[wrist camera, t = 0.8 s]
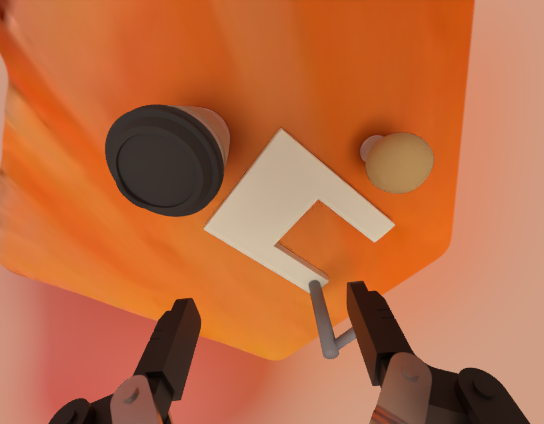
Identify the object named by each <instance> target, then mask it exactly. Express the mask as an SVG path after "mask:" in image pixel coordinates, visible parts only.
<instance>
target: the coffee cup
mask: <svg viewBox="0 0 544 424" xmlns="http://www.w3.org/2000/svg"><path fill="white" fill-rule="evenodd" d="M229 145H230V133H229V129H228V127H227V125H226V123H225V121H224V120H223V119H222V118H221V117H220V116H219V115H218V114H217V113H215V112H214V111H212V110H210V109H207V108H202V107H196V106H180V105H146V106H142V107H139V108H136V109H134V110H132V111H130V112H127V113H126V114H124V115H122V116H121V117H120V118H118V119H117V120H116V121H115V122H114V124H113V125H112V126H111V128H110V130H109V132H108V135H107V138H106V144H105V154H106V160H107V164H108V167H109V170H110V172H111V174H112V176H113V178H114V180H115V182H116V184H117V187H118V189H119V190H120V192H121V193H122V194H123V195H124V196H125V197H126V198H127V199H128V200H129V201H130V202H132V203H133V204H135V205H136V206H138V207H141V208H145V209H147V210H149V211H151V212H154V213H157V214H160V215H165V216H173V217H180V216H187V215H191V214H194V213H196V212H198V211H200V210H202V209H203V208H204V207H206V206H207V205H208V204H209V203H210V202H211V200H212V199H213V198H214V197H215V196H216V194H217V193H218V191H219V189H220V187H221V184H222V181H223V176H224V170H225V166H226V162H227V158H228V153H229Z"/></svg>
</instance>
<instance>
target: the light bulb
mask: <svg viewBox="0 0 544 424" xmlns="http://www.w3.org/2000/svg"><path fill="white" fill-rule="evenodd" d="M360 156H361V158H362V160H363V161H364V162H366V164H365V167H366V173H367V176H368V178H369V180H370V181H371V182H372V184H373V185H374V186H376V187H377V188H379V189H380V190H383V191H385V192H389V193H397V194H399V193H407V192H410V191H413V190H415V189H416V188H417V187H419V186H420V185H421V184H422V183H423V182H424V181H425V180H426V178H427V177H428V176H429V174H430V172H431V170H432V167H433V163H434V155H433V152H432V149H431V148H430V146H429V145H428V143H427V142H426V141H424V140H423V139H422V138H421V137H419V136H417V135H415V134H411V133H406V132H399V133H393V134H389V135H387V136H385V137H383V136H381V135H374V136H371V137H369V138H367V139H366V140H365V141H364V142H363V144H362V145H361V148H360Z"/></svg>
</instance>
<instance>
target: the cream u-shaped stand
mask: <svg viewBox="0 0 544 424" xmlns="http://www.w3.org/2000/svg"><path fill="white" fill-rule="evenodd" d="M318 199H319V200H320V201H321V202H323V203H324V204H325V205H327V206H328V207H329V208H330V209H332V210H333V211H334V212H336V213H337V214H338V215H339V216H341V217H342V218H343V219H345V220H346V221H347V222H349V223H350V224H351V225H352V226H354V227H355V228H356V229H358V230H359V231H360V232H361V233H363V234H364V235H365V236H367V237H368V238H369V239H371V240H372V241H373V242H374V243H375V242H376V241H377V240H379V239H380V238H381V237H382V236H383V235H385V234H386V233H387V232H388V231H389V230H390V229H392V228H393V227H394V226H395V224H394V223H393V222H392V221H391V220H390V219H389V218H388V217H387V216H386V215H384V214H383V213H382V212H381V211H380V210H378V209H377V208H376V207H375V206H374V205H373V204H371V203H370V202H369V201H368V200H367V199H365V198H364V197H363V196H362V195H361V194H359V193H358V192H357V191H356V190H355V189H354V188H352V187H351V186H350V185H349V184H348V183H346V182H345V181H344V180H343V179H342V178H341V177H339V176H338V175H337V174H336V173H335V172H333V171H332V170H331V169H330V168H329V167H327V166H326V165H325V164H324V163H323V162H322V161H320V160H319V159H318V158H317V157H316V156H314V155H313V154H312V153H311V152H310V151H309V150H307V149H306V148H305V147H304V146H303V145H301V144H300V143H299V142H298V141H297V140H295V139H294V138H293V137H292V136H291V135H290V134H288V133H287V132H286V131H285V130H284V129H282V128H281V127H280V128H279V130H278V131H277V132H276V133H275V135H274V136H273V137H272V139H271V140H270V141H269V143H268V144H267V145H266V146H265V148H264V149H263V150H262V152H261V153H260V154H259V156H258V157H257V158H256V159H255V161H254V162H253V163H252V165H251V166H250V167H249V168H248V170H247V171H246V172H245V174H244V175H243V176H242V178H241V179H240V180H239V181H238V183H237V184H236V185H235V187H234V188H233V189H232V191H231V192H230V193H229V194H228V196H227V197H226V198H225V200H224V201H223V202H222V204H221V205H220V206H219V207H218V209H217V210H216V211H215V213H214V214H213V215H212V216H211V218H210V219H209V220H208V222H207V223H206V225H205V227H204V230H205V231H207V232H209V233H210V234H212V235H214V236H215V237H217V238H219V239H220V240H222V241H224V242H225V243H227V244H229V245H230V246H232V247H234V248H235V249H237V250H239V251H240V252H242V253H243V254H245V255H247V256H248V257H250V258H252V259H253V260H255V261H257V262H258V263H260V264H262V265H263V266H265V267H267V268H268V269H270V270H272V271H273V272H275V273H277V274H278V275H280V276H282V277H283V278H285V279H287V280H288V281H290V282H292V283H293V284H295V285H297V286H298V287H300V288H302V289H303V290H305V291H307V292H308V293H310V295H311V300H312V304H313V309H314V314H315V319H316V323H317V328H318V333H319V338H320V342H321V347H322V352H323V356H324V357H325V358H327V359H334V358H336V357H337V356H338V355H339V351H338V350H339V349H341V348H342V347H344V346H345V345H347V344H348V343H350V342H351V341H353V340H354V339H355V338H356V335H355V332H354V329H353V327H352V328H350V329H349V330H347V331H346V332H345V333H343V334H342V335H340V336H339V337H338V338H336V339H335V337H334V332H333V329H332V325H331V321H330V318H329V314H328V310H327V307H326V303H325V299H324V296H323V292H322V287H323V286H324V285H325V284H327V283H328V282H329V280H328V277H327V275H326V274H325V273H323V272H322V271H320V270H319V269H317V268H316V267H314V266H312V265H311V264H309V263H308V262H306V261H305V260H303V259H302V258H300V257H299V256H297V255H296V254H294V253H293V252H291V251H289V250H288V249H286V248H285V247H283V246H282V245H280V244H279V243H277V242H278V241H279V240H280V239H281V237H282V236H283V235H284V234H285V233H286V232H287V231H288V230H289V229H290V228H291V227H292V226H293V225H294V224H295V223H296V222H297V221H298V220H299V219H300V218H301V217H302V216H303V215H304V214H305V213H306V212H307V210H308V209H309V208H310V207H311V206H312V205H313V204H314V203H315V202H316V201H317V200H318Z"/></svg>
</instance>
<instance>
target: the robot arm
mask: <svg viewBox="0 0 544 424" xmlns="http://www.w3.org/2000/svg"><path fill="white" fill-rule="evenodd" d="M347 310H348V314H349V318H350V320H351V323H352V326H353V329H354V332H355V335H356V338H357V341H358V344H359V347H360V350H361V353H362V356H363V359H364V362H365V365H366V368H367V371H368V374H369V377H370V379H371V382H372V385H373V386H379V385H380V386H381V392H380V395H379V399H378V402H377V405H376V408H375V410H374V412H373V414H372V417H371V420H370V423H369V424H530V423H529V421H528V420H527V418H526V417H525V416H524V414H523V413H522V411H521V410H520V409H519V407H518V406H517V404H516V403H515V402H514V400H513V399H512V397H511V396H510V395H509V393H508V392H507V390H506V389H505V387H504V386H503V385H502V384H501V383H500V382H499V381H498V380H497V379H496V378H495V377H493V376H492V375H490V374H489V373H487V372H485V371H483V370H480V369H477V368H465V369H463V370H461V371H460V373H459V374H457V373H453V372H449V371H445V370H441V369H437V368H434V367H431V366H429V365H427V364H426V363H424V362H423V361H422V360H421V359H420V358H418V357H417V356H416V355H415V354H414V353H413V351H412V349H411V348H410V346H409V344H408V342H407V340H406V338H405V336H404V334H403V332H402V331H401V329H400V327H399V325H398V323H397V321H396V319H395V318H394V315H393V314H392V312H391V310H390V308H389V306H388V304H387V302H386V300H385V299H384V298H383V297H382V296H381V295H380V294H379V293H378V292H377V291H368V290H367V288H366V285H365V283H364V282H363V281H356V282H348V283H347ZM200 329H201V318H200V315H199V312H198V310H197V307H196V305H195V303H194V300H193V299H192V298H185V299H177V300H176V301H175V303H174V305H173V307H172V310H171V311H166V312H165V313H164V315H163V316H162V317H161V318H160V319H159V320H158V323H157V325H156V327H155V329H154V332H153V333H152V335H151V338H150V341H149V342H148V344H147V346H146V348H145V351H144V353H143V355H142V357H141V359H140V361H139V364H138V366H137V368H136V370H135V372H134V374H133V376H132V377H130V378H129V379H127V380H126V381H124V382H123V383H122V384H121V385H120V386H119V387H118V388H117V390H116V391H115V393H113V394H111V395H109V396H107V397H104V398H102V399H100V400H97V401H95V402H93V403H89V402H88V401H87V400H86V399H83V398H79V399H75V400H73V401H71V402H69V403H67V404H66V405H65V406H63V407H62V408H61V409H60V410H59V411H58V412H57V413H56V414H55V415H54V417H53V418H52V419H51V421H50V422H49V424H174V423H173V421H172V417H171V414H170V412H169V408H170V405H171V402H172V401H177V400H181V397H182V394H183V390H184V387H185V383H186V379H187V376H188V372H189V368H190V365H191V361H192V358H193V354H194V351H195V347H196V343H197V340H198V336H199V333H200Z"/></svg>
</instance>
